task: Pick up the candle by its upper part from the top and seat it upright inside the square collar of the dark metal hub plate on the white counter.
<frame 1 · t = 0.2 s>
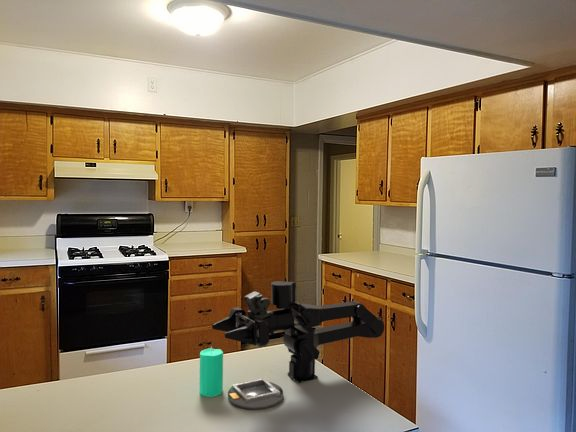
hand: (218, 331, 113), 17 cm above the counter, tool horizontal, fingers open, 9 cm apart
candle: (211, 392, 116), on the counter
hub: (255, 396, 113), on the counter
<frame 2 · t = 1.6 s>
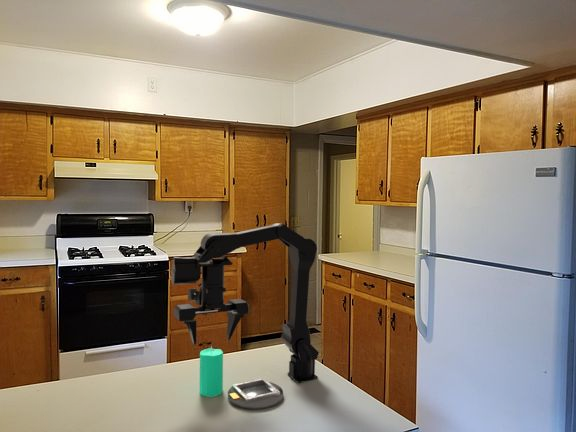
hand: (211, 342, 115), 13 cm above the counter, tool pointing down, fingers open, 9 cm apart
nothing on the counter moved.
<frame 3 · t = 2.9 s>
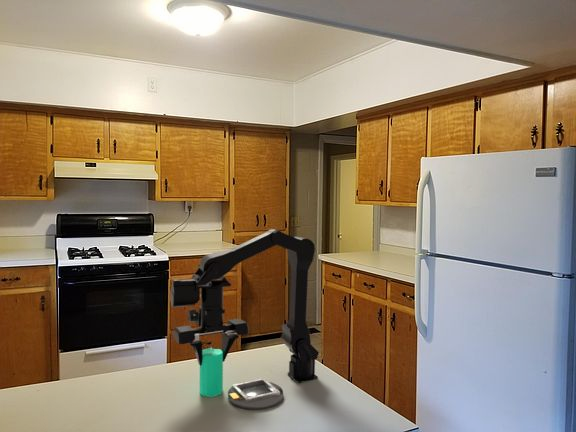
hand: (211, 363, 115), 8 cm above the counter, tool pointing down, fingers closed on candle, 6 cm apart
candle: (211, 392, 116), on the counter, touching gripper
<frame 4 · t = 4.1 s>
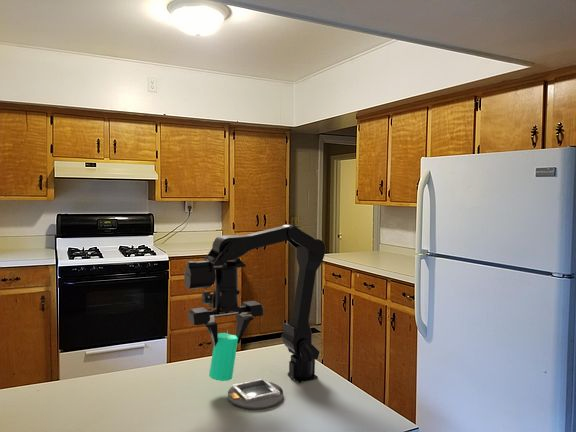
hand: (226, 345, 114), 13 cm above the counter, tool pointing down, fingers closed on candle, 6 cm apart
candle: (220, 377, 114), point 4 cm above the counter, touching gripper
when the fingers open (10 cm above the counter, at t = 5.7 s): candle stays where it is, resting on hub.
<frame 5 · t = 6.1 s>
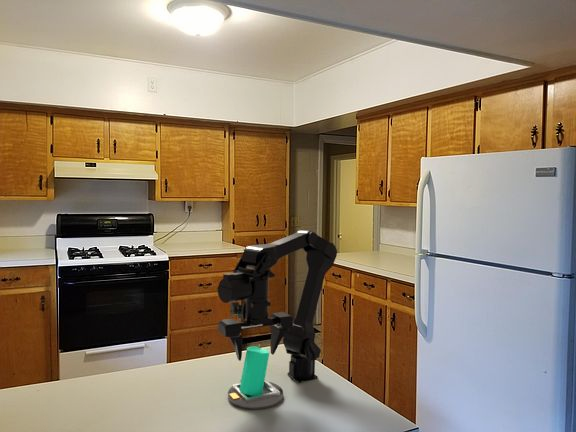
hand: (256, 357, 113), 10 cm above the counter, tool pointing down, fingers open, 9 cm apart
candle: (250, 391, 113), point 2 cm above the counter, touching hub
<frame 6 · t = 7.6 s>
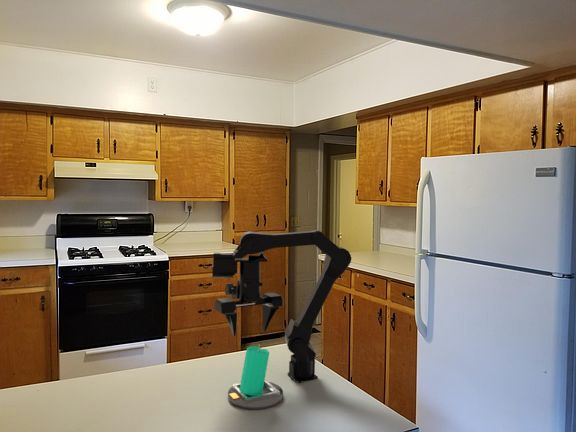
hand: (249, 333, 123), 13 cm above the counter, tool pointing down, fingers open, 9 cm apart
nothing on the counter moved.
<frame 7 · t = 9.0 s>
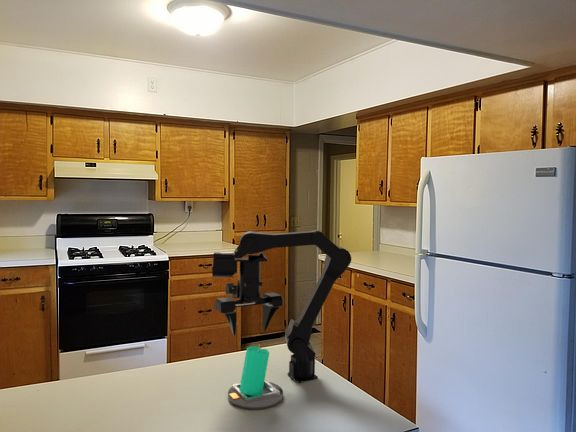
hand: (249, 332, 124), 13 cm above the counter, tool pointing down, fingers open, 9 cm apart
nothing on the counter moved.
at the end: candle 1.3 cm from the hub (horizontally); candle tilted 11°; the gripper is holding nothing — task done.
